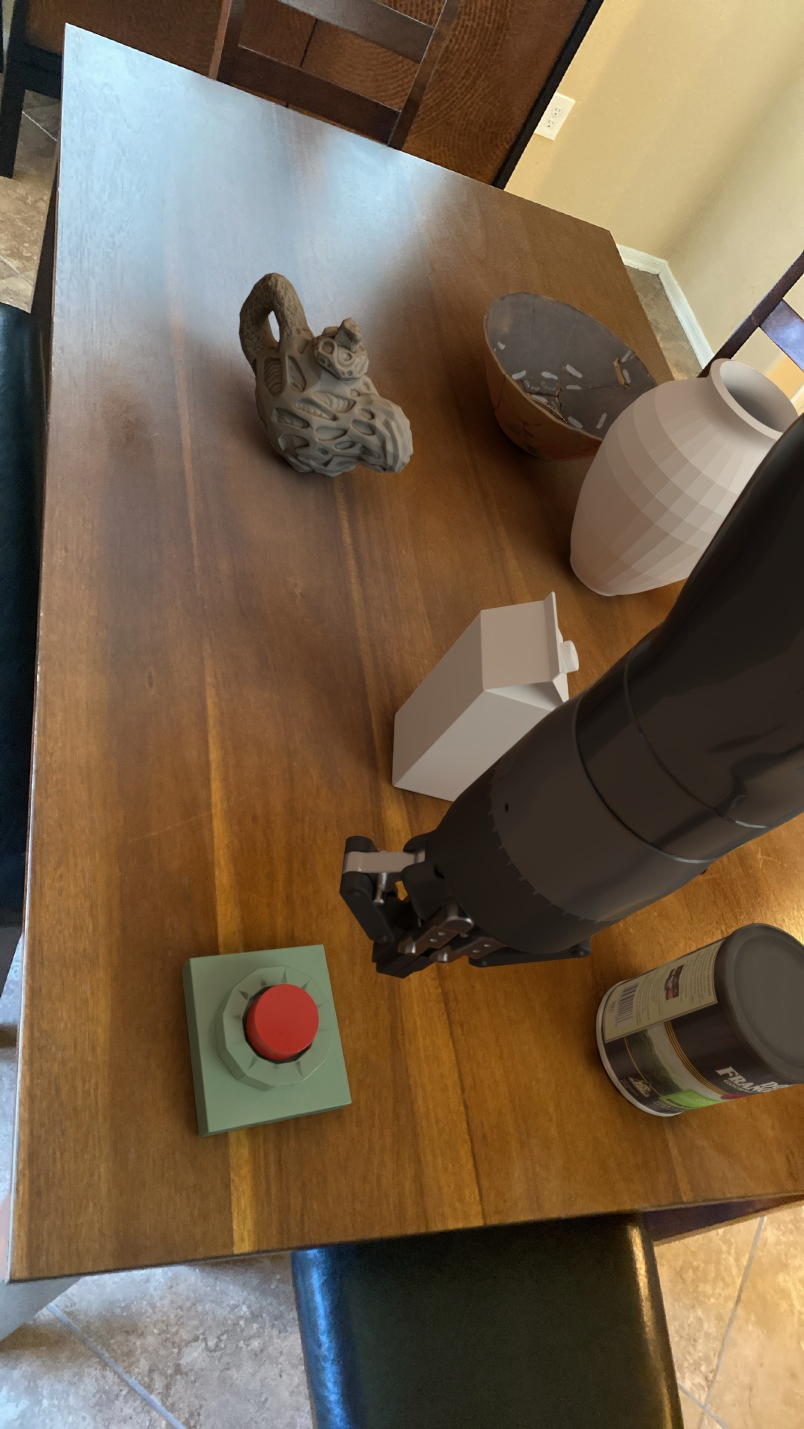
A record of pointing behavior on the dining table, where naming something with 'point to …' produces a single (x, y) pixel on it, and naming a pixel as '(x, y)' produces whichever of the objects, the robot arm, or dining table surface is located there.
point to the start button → (282, 1021)
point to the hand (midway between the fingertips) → (390, 957)
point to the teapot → (317, 389)
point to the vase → (672, 476)
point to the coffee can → (708, 1024)
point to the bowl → (557, 375)
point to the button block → (226, 1062)
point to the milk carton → (482, 698)
